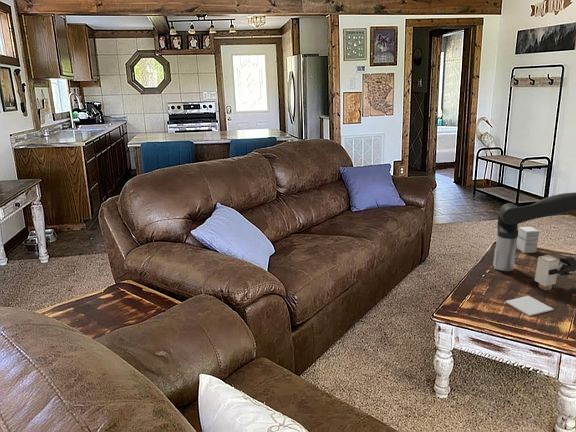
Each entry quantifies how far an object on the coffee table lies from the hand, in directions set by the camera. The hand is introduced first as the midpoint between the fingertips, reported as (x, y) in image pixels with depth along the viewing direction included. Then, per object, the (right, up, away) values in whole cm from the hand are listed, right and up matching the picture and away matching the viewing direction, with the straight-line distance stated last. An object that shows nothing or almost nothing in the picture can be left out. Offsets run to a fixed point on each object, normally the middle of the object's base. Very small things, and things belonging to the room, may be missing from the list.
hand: (543, 269), depth 210 cm
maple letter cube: (+3, -9, +4) cm, 10 cm away
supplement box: (+17, +5, +47) cm, 51 cm away
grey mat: (-13, -14, -12) cm, 22 cm away
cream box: (+2, -6, +3) cm, 7 cm away
